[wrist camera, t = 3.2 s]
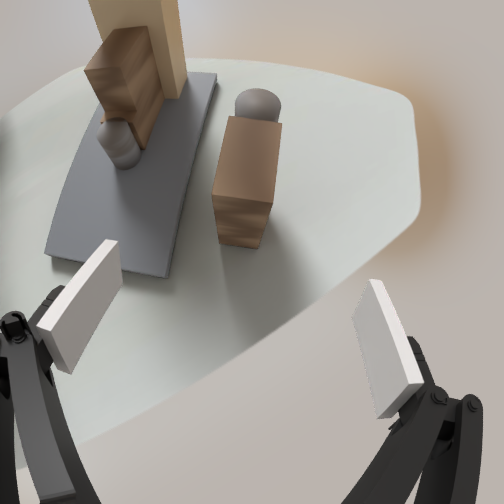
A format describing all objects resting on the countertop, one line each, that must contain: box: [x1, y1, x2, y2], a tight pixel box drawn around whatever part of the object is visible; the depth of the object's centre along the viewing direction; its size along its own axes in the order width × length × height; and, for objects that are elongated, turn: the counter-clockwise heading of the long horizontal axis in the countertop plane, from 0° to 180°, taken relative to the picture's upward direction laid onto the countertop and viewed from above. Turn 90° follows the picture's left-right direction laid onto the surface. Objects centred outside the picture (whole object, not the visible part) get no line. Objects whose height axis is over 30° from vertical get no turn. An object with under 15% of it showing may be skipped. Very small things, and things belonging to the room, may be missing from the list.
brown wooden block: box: [211, 88, 282, 249], centre depth 23 cm, size 4×9×11 cm, turn 172°
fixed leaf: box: [84, 26, 165, 170], centre depth 23 cm, size 4×10×11 cm, turn 173°
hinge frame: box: [44, 0, 217, 279], centre depth 17 cm, size 14×25×25 cm, turn 173°
